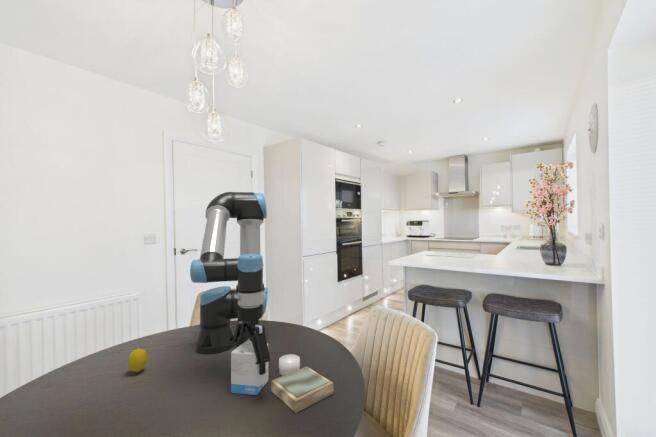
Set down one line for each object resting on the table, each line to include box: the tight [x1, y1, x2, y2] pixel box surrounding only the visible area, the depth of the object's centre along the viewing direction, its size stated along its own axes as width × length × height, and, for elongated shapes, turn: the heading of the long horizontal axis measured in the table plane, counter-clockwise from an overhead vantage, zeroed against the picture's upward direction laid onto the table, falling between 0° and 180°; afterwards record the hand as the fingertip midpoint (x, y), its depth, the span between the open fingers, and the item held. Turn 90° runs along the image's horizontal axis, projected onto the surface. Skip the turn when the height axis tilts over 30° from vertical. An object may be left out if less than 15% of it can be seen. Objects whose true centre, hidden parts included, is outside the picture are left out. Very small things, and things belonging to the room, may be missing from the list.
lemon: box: [127, 347, 148, 373], centre depth 94 cm, size 6×6×8 cm
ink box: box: [230, 338, 269, 396], centre depth 85 cm, size 9×8×13 cm
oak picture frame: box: [270, 366, 334, 414], centre depth 82 cm, size 13×13×3 cm
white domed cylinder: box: [278, 353, 301, 376], centre depth 94 cm, size 7×7×4 cm
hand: (250, 375), depth 85 cm, fingers open, 13 cm apart
